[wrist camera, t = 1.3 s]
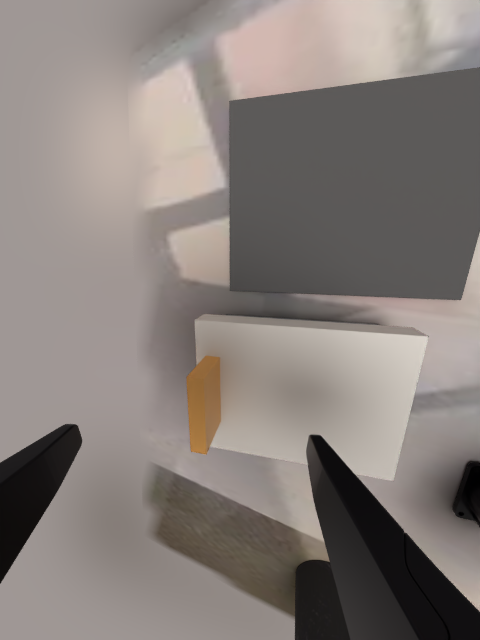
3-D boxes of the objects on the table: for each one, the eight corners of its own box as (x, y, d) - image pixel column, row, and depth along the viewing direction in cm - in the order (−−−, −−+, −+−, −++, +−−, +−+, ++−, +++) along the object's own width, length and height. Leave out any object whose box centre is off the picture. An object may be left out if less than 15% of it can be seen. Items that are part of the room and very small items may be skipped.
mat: (457, 299, 18) (461, 300, 18) (230, 290, 22) (229, 290, 22) (519, 66, 14) (525, 61, 14) (230, 104, 18) (229, 101, 18)
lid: (383, 459, 19) (416, 533, 14) (207, 429, 23) (182, 480, 17) (412, 327, 16) (469, 360, 11) (203, 314, 19) (172, 334, 14)
